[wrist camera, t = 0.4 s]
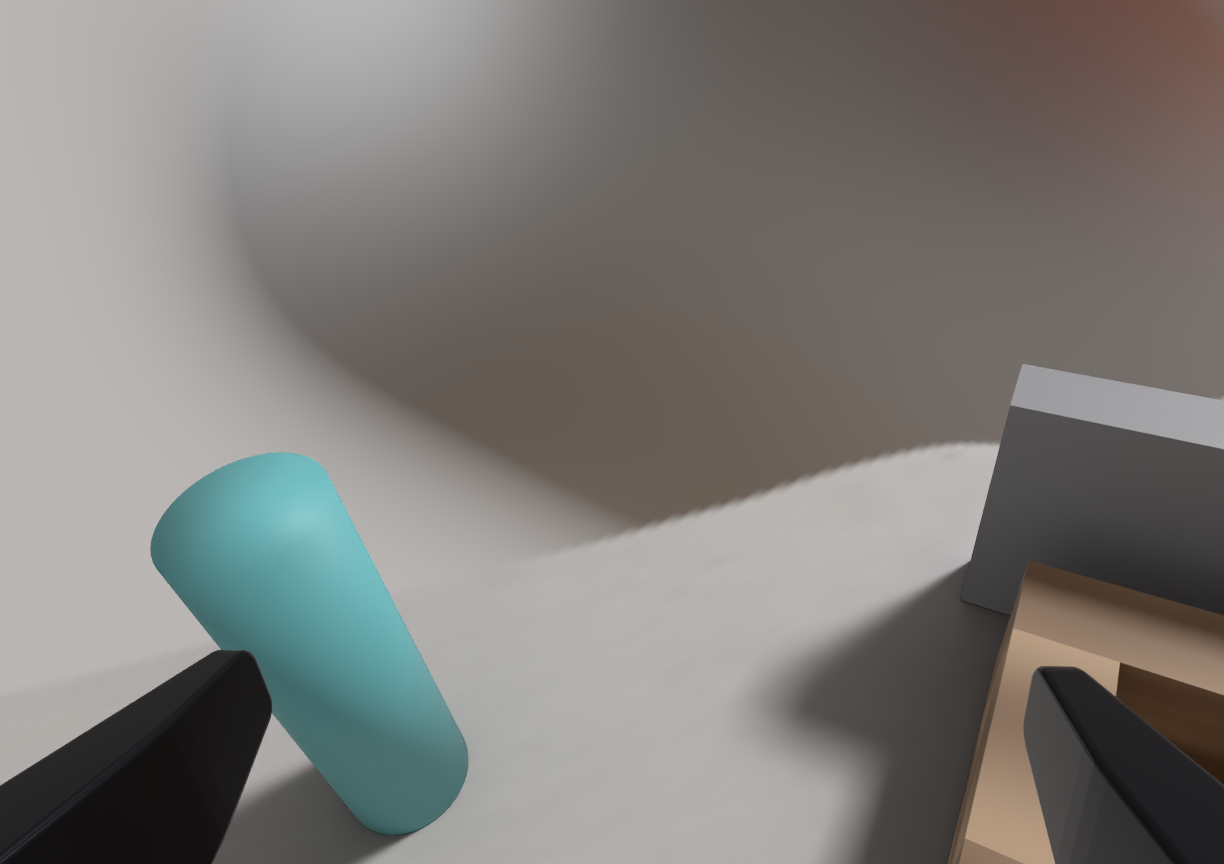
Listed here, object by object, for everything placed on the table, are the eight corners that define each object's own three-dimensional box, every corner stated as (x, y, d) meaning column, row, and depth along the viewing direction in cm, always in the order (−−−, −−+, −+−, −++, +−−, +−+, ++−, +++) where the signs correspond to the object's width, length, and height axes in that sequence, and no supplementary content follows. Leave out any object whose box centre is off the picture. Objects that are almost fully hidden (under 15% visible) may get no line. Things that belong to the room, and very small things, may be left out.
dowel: (439, 847, 24) (269, 596, 16) (325, 821, 25) (110, 574, 17) (485, 725, 27) (361, 459, 19) (381, 706, 28) (220, 446, 20)
